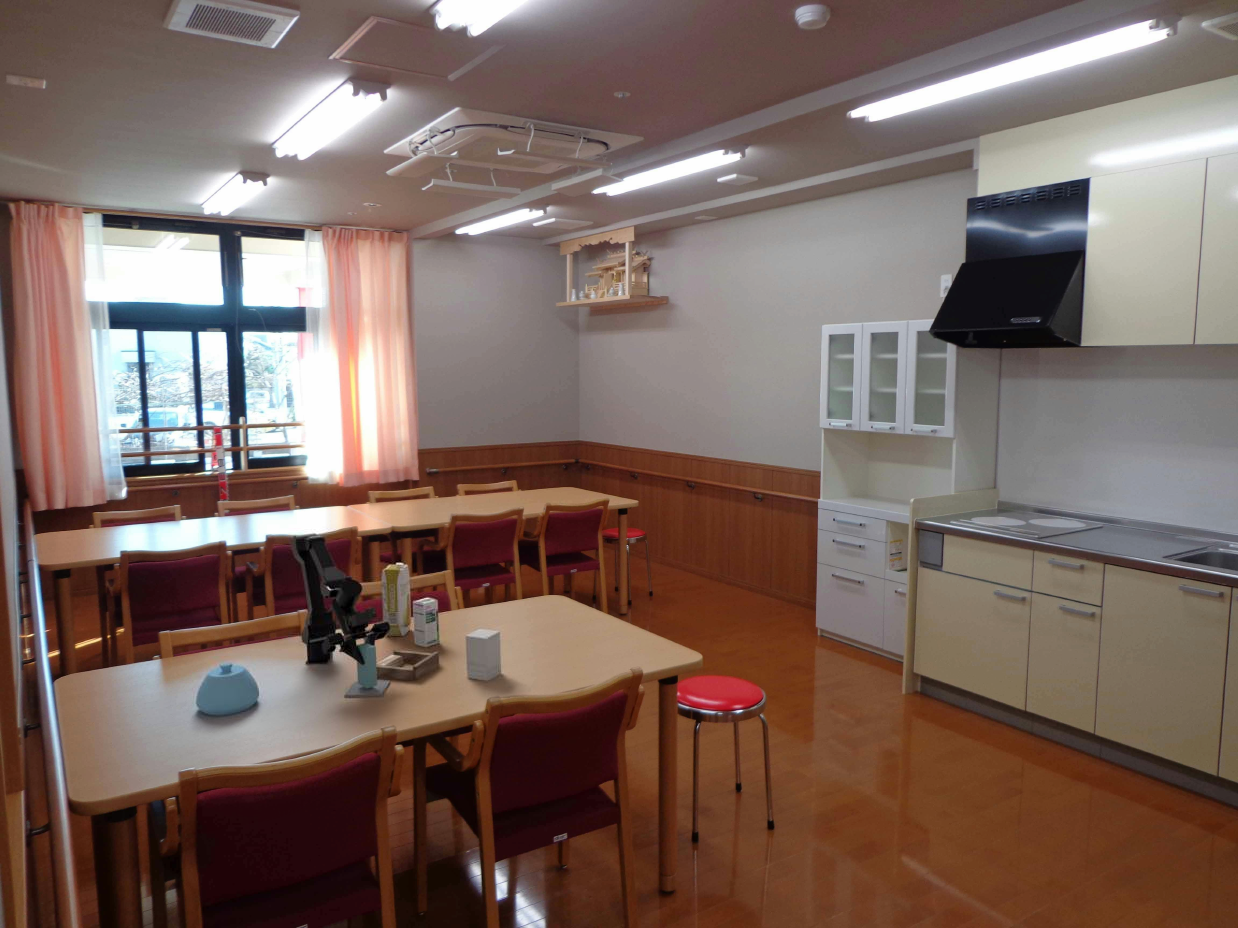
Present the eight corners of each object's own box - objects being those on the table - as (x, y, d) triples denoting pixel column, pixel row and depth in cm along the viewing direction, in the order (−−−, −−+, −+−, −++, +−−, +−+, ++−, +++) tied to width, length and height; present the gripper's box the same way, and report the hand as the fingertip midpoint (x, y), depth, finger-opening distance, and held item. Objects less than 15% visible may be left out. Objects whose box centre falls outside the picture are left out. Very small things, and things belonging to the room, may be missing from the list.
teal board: (357, 683, 228) (356, 645, 227) (367, 680, 230) (366, 642, 229) (367, 688, 225) (365, 649, 223) (377, 685, 227) (375, 646, 226)
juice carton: (405, 637, 273) (403, 566, 271) (382, 637, 273) (379, 566, 271) (413, 628, 283) (410, 560, 280) (390, 628, 283) (387, 560, 280)
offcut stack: (373, 674, 240) (373, 664, 240) (392, 663, 250) (391, 653, 249) (387, 675, 239) (386, 665, 239) (405, 664, 248) (404, 654, 248)
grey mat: (344, 697, 222) (344, 695, 222) (354, 683, 232) (354, 681, 232) (381, 696, 223) (381, 694, 223) (390, 682, 233) (390, 680, 233)
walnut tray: (365, 675, 238) (365, 661, 238) (392, 659, 252) (391, 646, 252) (415, 680, 234) (415, 667, 233) (440, 664, 247) (439, 651, 247)
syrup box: (425, 647, 263) (424, 603, 261) (413, 644, 266) (412, 600, 265) (439, 642, 267) (438, 599, 265) (427, 639, 271) (426, 596, 269)
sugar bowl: (218, 722, 207) (216, 678, 205) (184, 710, 215) (182, 667, 213) (271, 702, 219) (269, 660, 218) (237, 691, 227) (235, 650, 226)
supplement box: (502, 673, 240) (501, 631, 238) (487, 681, 233) (486, 638, 232) (480, 669, 243) (479, 627, 241) (466, 677, 236) (464, 635, 235)
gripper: (325, 606, 221) (347, 655, 214) (386, 592, 234) (409, 638, 228) (312, 629, 227) (333, 677, 221) (372, 614, 240) (394, 659, 234)
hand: (369, 662), depth 226 cm, fingers closed on teal board, 3 cm apart
